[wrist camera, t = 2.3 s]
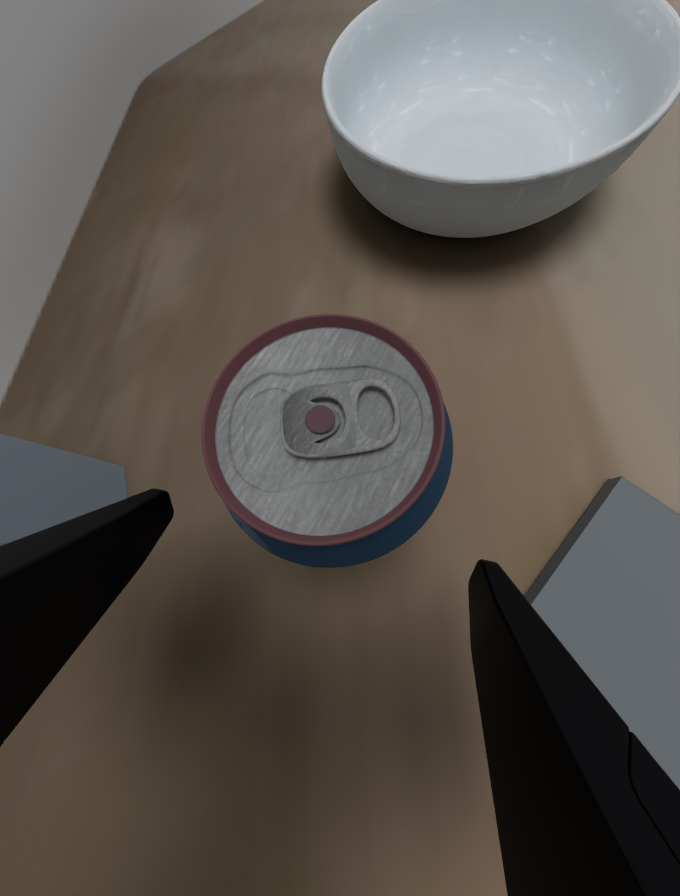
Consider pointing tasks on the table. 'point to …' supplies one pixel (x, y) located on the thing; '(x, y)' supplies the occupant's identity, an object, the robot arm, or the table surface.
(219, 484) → the soda can
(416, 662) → the table surface
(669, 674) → the mat
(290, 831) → the table surface
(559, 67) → the serving bowl
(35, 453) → the gray block
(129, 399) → the table surface
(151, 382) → the table surface
